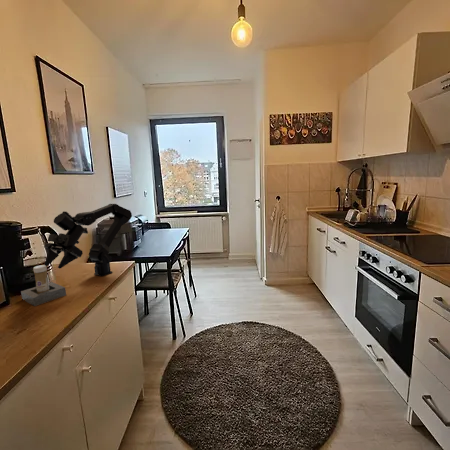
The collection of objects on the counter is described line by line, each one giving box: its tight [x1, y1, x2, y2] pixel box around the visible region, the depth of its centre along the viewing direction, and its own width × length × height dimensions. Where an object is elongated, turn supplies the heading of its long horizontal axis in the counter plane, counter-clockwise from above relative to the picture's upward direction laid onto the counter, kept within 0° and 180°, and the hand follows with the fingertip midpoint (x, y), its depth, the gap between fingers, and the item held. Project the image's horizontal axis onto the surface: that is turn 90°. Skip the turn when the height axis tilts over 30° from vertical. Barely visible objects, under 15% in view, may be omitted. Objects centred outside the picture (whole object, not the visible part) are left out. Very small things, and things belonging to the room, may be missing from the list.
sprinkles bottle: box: [32, 264, 50, 294], centre depth 118 cm, size 5×5×13 cm
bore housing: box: [20, 281, 67, 307], centre depth 119 cm, size 12×12×4 cm
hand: (52, 266), depth 121 cm, fingers open, 9 cm apart
